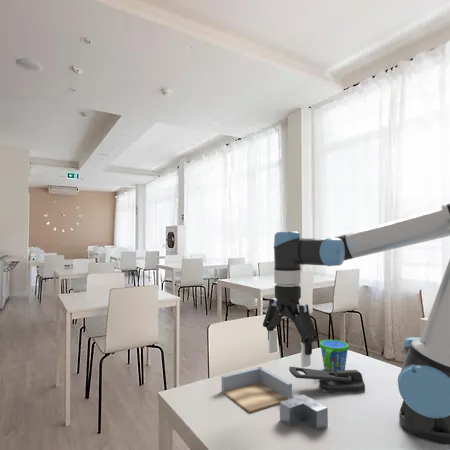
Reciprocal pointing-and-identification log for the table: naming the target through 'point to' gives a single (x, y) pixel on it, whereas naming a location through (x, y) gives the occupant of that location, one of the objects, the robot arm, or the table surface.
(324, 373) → the zipper pull
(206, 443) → the table surface
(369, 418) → the table surface
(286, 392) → the corner walls
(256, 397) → the cork mat
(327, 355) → the snack cup
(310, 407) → the angle bracket
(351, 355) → the table surface
